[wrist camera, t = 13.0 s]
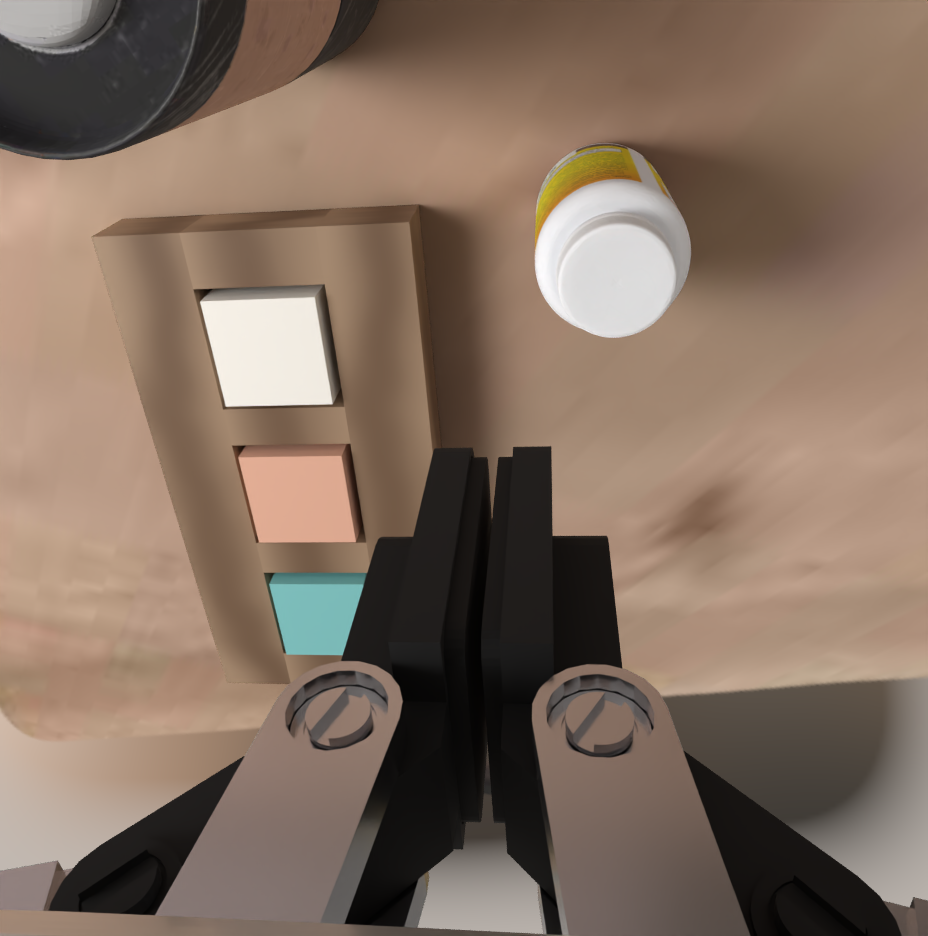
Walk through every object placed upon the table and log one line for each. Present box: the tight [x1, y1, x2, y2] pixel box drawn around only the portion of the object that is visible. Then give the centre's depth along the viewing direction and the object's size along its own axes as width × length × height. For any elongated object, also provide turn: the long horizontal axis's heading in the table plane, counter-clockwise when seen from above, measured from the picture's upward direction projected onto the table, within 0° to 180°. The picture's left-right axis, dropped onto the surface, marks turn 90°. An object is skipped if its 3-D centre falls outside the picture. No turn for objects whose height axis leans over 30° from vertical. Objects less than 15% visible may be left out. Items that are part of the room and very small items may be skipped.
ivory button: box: [200, 284, 341, 407], centre depth 38 cm, size 5×5×3 cm
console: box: [91, 205, 442, 684], centre depth 43 cm, size 14×27×3 cm, turn 4°
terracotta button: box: [238, 444, 363, 543], centre depth 42 cm, size 5×5×3 cm
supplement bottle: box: [535, 143, 691, 338], centre depth 31 cm, size 6×6×10 cm
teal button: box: [269, 573, 367, 655], centre depth 46 cm, size 5×5×3 cm
